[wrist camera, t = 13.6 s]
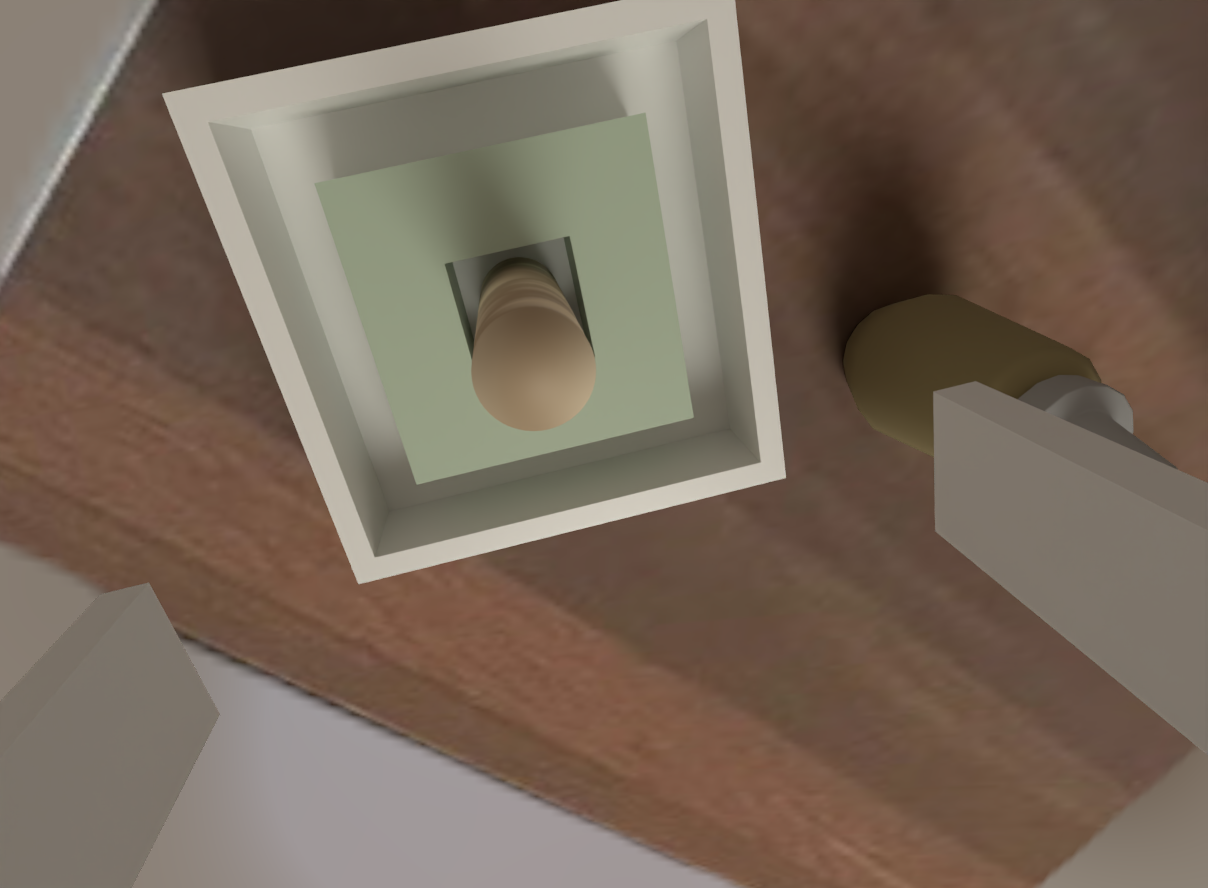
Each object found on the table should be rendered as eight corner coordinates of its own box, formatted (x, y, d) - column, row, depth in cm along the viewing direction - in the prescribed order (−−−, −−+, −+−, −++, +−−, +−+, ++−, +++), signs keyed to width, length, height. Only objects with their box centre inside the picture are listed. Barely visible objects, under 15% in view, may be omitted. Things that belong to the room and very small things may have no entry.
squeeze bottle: (803, 404, 41) (1013, 563, 24) (853, 266, 38) (1128, 340, 22) (920, 430, 43) (1192, 596, 26) (977, 301, 40) (1317, 394, 23)
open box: (692, 10, 33) (732, -23, 27) (746, 436, 41) (785, 477, 36) (220, 107, 31) (161, 93, 26) (377, 526, 40) (358, 584, 34)
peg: (550, 249, 35) (582, 297, 22) (567, 327, 36) (606, 415, 23) (471, 267, 34) (456, 326, 21) (491, 344, 36) (489, 443, 23)
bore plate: (628, 119, 33) (645, 112, 29) (674, 394, 38) (693, 417, 35) (335, 181, 32) (314, 183, 28) (424, 454, 38) (416, 484, 34)
